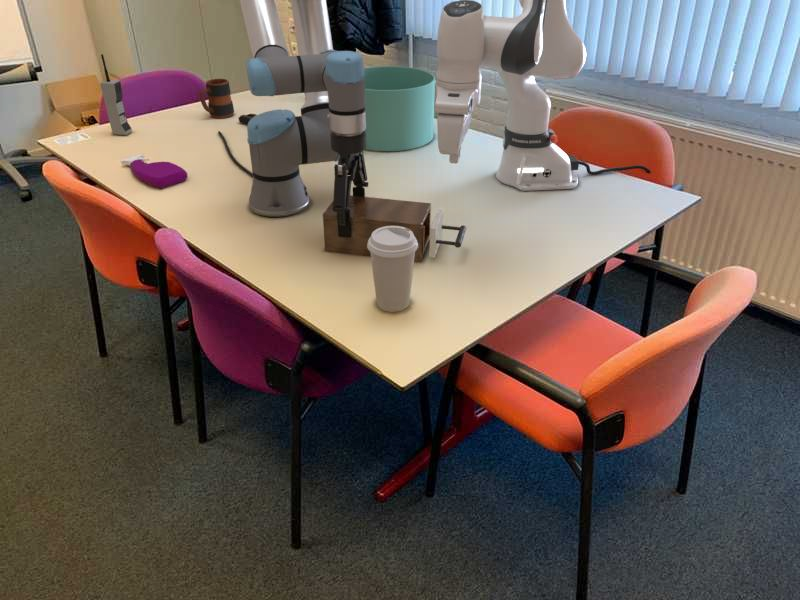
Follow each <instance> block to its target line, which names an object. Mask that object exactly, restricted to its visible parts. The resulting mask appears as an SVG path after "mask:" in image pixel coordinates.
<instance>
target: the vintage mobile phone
mask: <svg viewBox="0 0 800 600" xmlns="http://www.w3.org/2000/svg"><path fill="white" fill-rule="evenodd" d="M100 57H101V61H102V66H103V69H104V74H105V79H106V80H103V81H102V82H100V83H99V86H100V89H101V93H102V94H101V95H102V98H103V101H104V106H105V109H106V113H107V117H108V121H109V125H110V129H111V133H112V134H113V135H116V136H117V135H118V136H127V135H129V134H130V133H132V132H133V128H132V126H131V125H130V124H129V122H128V117H127V115H126V109H125V106H124V105H125V104H124V101H123V97H124V96H123V88H122V81H121V80H117V79H110V76H109V72H108V68H107V65H106V61H105V57H104V54H100Z"/></svg>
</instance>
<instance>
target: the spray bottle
mask: <svg viewBox="0 0 800 600" xmlns="http://www.w3.org/2000/svg"><path fill="white" fill-rule="evenodd" d="M145 161H149V163H147V162H145ZM120 163H121V166H129V167H130V169H131V172H132V173H133V175H134V176H135V177H136V178H137V179H139V180H141V181H142V182H143V183H145V184H148V185H150V186H153V187H156V188H160V189H163V188H166V187H169V186H173V185H176V184H178V183H182V182H184V181H186V180H187V178H188V172H187V171H186V170H185V169H184V168H183V167H181V166H180V165H177V164H175V163H174V162H170V161H154V162H150V158H146V157H145V154H144V153H142V154H136V155H133V156H129V157H127V158H124V159H121V160H120Z"/></svg>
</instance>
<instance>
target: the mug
mask: <svg viewBox="0 0 800 600" xmlns="http://www.w3.org/2000/svg"><path fill="white" fill-rule="evenodd" d="M205 94H206V95H207V101H208V102H206V99H205ZM231 94H232V91H231V86H230V81H229V80H228V79H226V78H213V79H209V80H207V81H206V83H205V88H203V89H201V90H200V92H199V100H200V103H201V105H202V108H203V110H205V112H206V113H209V115H210V117H212V118H215V119H226V118H229V117H232V116H233V115H234V113H235V108H234V102H233V100H232V96H231Z"/></svg>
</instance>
